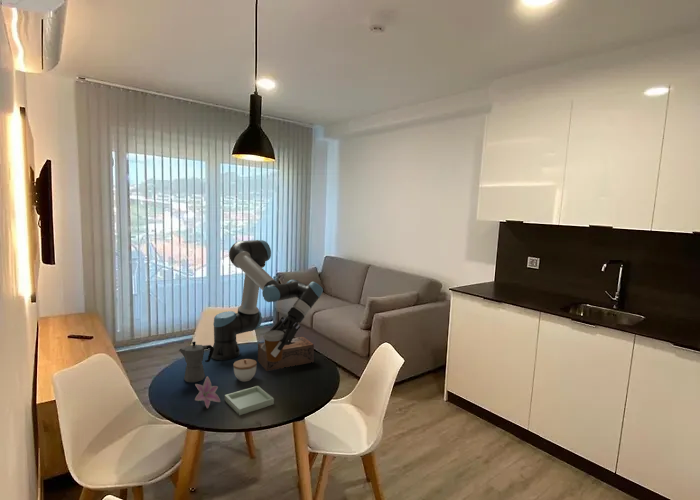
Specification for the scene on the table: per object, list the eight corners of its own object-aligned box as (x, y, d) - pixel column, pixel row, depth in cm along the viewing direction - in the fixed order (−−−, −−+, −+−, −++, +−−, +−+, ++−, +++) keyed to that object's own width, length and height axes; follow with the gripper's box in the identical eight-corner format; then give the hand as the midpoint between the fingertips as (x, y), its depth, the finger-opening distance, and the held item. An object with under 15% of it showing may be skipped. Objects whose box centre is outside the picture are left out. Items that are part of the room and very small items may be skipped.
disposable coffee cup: (272, 365, 169) (272, 338, 168) (259, 359, 175) (258, 333, 174) (289, 359, 177) (289, 333, 175) (276, 353, 183) (275, 328, 181)
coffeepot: (178, 384, 180) (177, 346, 178) (180, 376, 189) (179, 339, 187) (214, 380, 185) (213, 343, 183) (214, 372, 194) (213, 336, 192)
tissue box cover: (302, 353, 222) (302, 336, 221) (313, 362, 210) (313, 344, 209) (258, 361, 209) (257, 343, 208) (266, 371, 197) (266, 352, 196)
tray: (224, 400, 165) (224, 395, 165) (257, 391, 175) (257, 385, 175) (239, 415, 154) (239, 409, 154) (273, 404, 163) (273, 398, 163)
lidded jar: (228, 380, 185) (228, 361, 184) (244, 372, 195) (244, 354, 194) (246, 385, 180) (245, 365, 179) (261, 377, 190) (261, 358, 189)
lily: (189, 415, 156) (200, 396, 154) (183, 393, 164) (193, 375, 162) (217, 414, 164) (227, 396, 162) (210, 393, 172) (220, 376, 170)
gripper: (316, 321, 176) (285, 364, 167) (291, 311, 192) (262, 350, 184) (306, 311, 172) (274, 355, 163) (281, 302, 188) (251, 341, 180)
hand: (267, 352), depth 173 cm, fingers closed on disposable coffee cup, 9 cm apart
